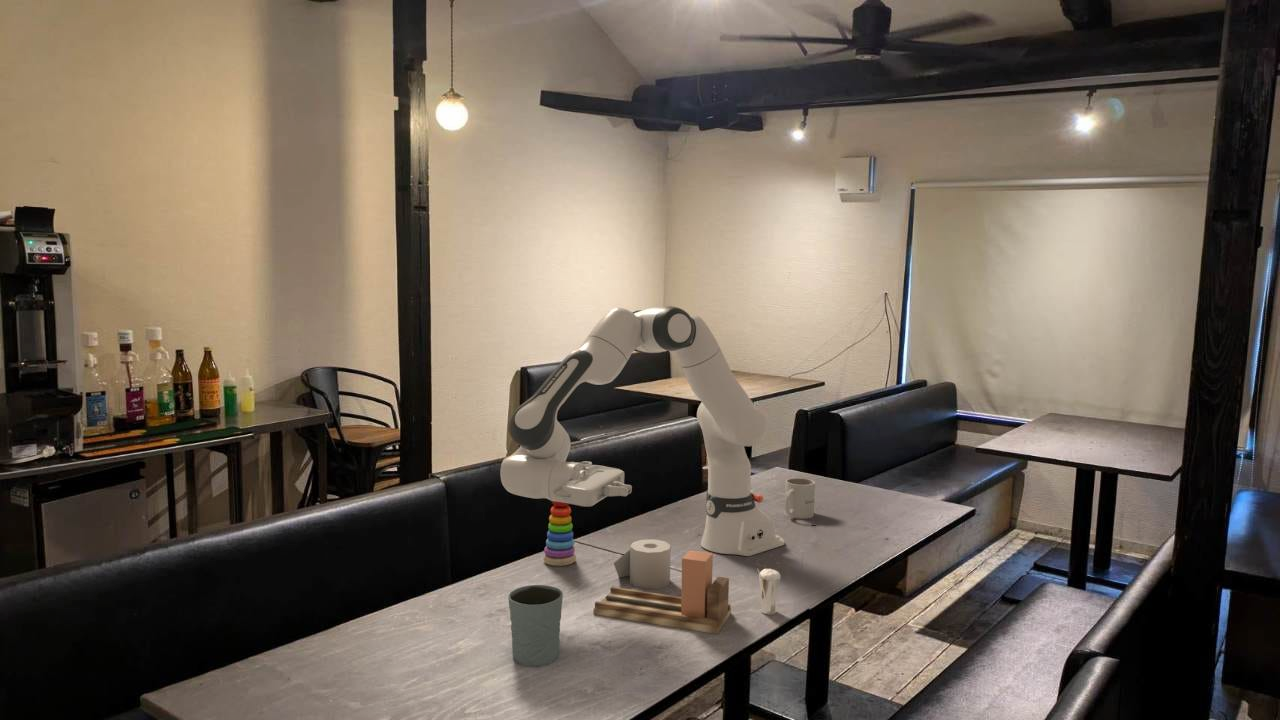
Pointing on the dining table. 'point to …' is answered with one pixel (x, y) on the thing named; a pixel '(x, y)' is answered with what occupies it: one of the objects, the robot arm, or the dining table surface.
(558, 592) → the green cup
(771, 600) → the milkshake
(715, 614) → the channel
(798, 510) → the mug
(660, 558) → the toilet tissue
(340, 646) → the dining table surface
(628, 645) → the dining table surface
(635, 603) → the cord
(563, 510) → the stacking toy
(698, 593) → the panel
